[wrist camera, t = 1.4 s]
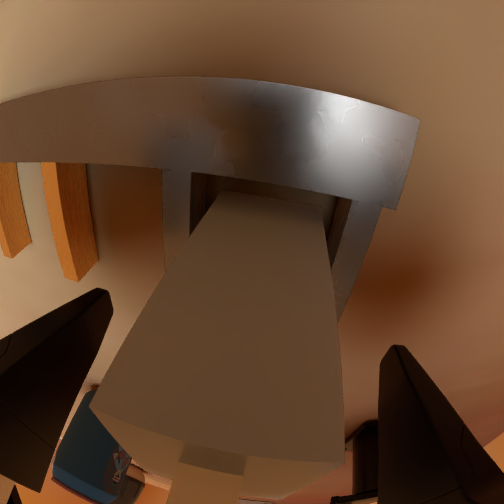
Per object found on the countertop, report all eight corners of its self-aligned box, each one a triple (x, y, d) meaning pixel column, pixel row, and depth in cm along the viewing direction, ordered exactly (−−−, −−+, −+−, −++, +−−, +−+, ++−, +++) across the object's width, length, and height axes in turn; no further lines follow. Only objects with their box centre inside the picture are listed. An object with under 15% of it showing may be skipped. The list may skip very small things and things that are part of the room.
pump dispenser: (151, 475, 51) (136, 521, 38) (114, 460, 51) (97, 505, 38) (148, 469, 46) (130, 522, 33) (106, 451, 46) (86, 502, 33)
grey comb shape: (338, 308, 13) (341, 339, 11) (19, 238, 14) (0, 254, 12) (398, 113, 8) (420, 119, 6) (-1, 105, 9) (-26, 113, 8)
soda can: (83, 389, 25) (42, 472, 15) (100, 377, 22) (49, 481, 11) (133, 422, 27) (100, 504, 17) (159, 415, 24) (123, 517, 13)
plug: (296, 296, 13) (275, 529, 5) (215, 281, 13) (135, 498, 5) (320, 207, 11) (342, 522, 2) (222, 190, 11) (63, 457, 2)
